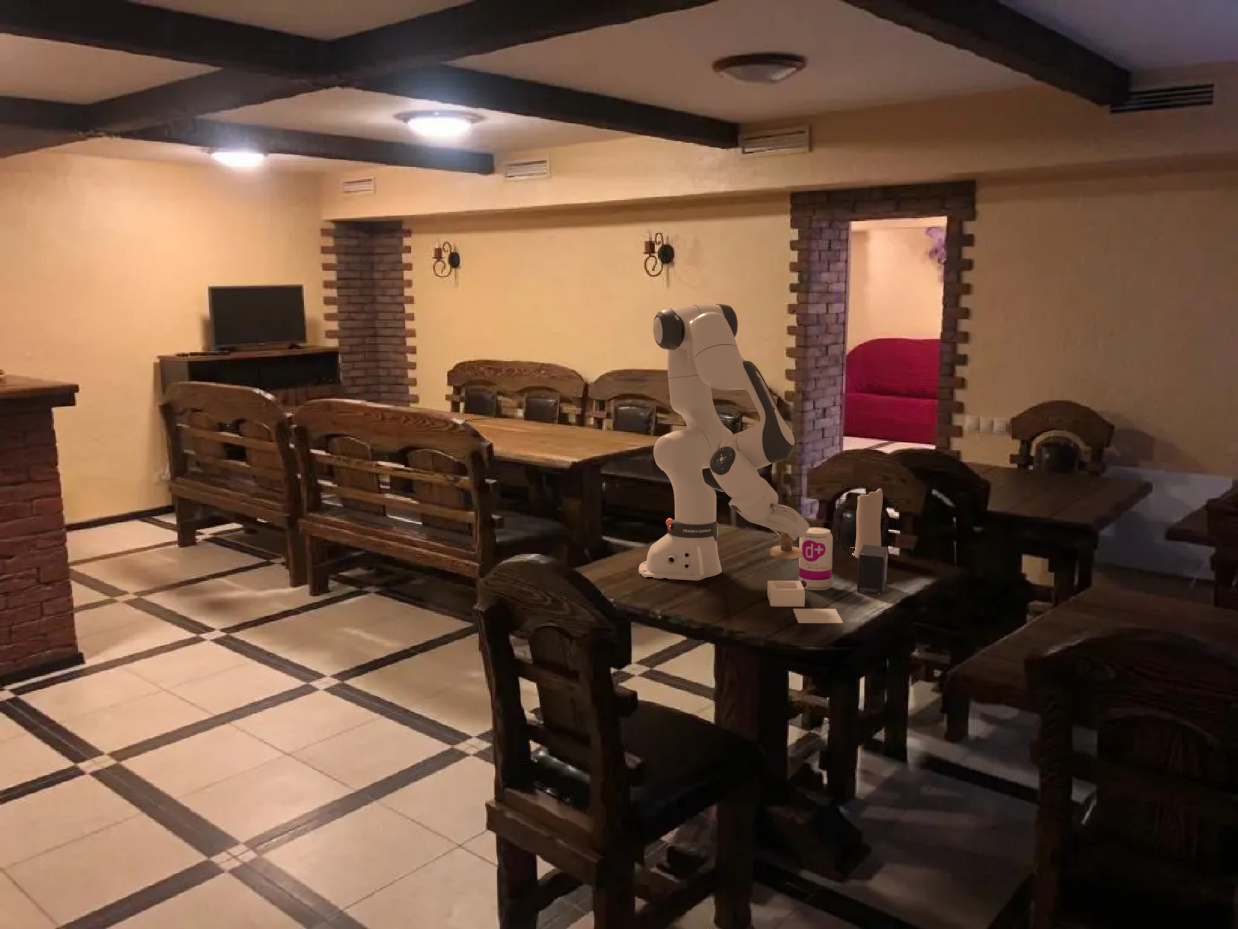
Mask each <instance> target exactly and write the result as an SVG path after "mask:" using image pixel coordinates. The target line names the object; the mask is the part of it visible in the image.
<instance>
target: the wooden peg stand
mask: <svg viewBox="0 0 1238 929" xmlns="http://www.w3.org/2000/svg"><path fill="white" fill-rule="evenodd" d="M787 535H788V534H787V533H784V532H781V536H780V545H775V546H772V547H771V548H770V550H769V551H770V552H769V554H770V556H771V557H773V558H777V559H783V560H793V559H794V560H795V559H799V558H800V557H802V549H800V548H799V547H797V546H793V543H794V542H793V541H794V540H791V539H789V537H788V536H787Z"/></svg>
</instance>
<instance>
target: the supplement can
mask: <svg viewBox="0 0 1238 929" xmlns="http://www.w3.org/2000/svg"><path fill="white" fill-rule="evenodd" d="M833 536H834V535H832V533H831V529H828V528H826V527H825V528H824V527H817V526H814V527H812V526H811V527H810V526H809V529H808V531H807V532H806V534H805V535H804V536H803V537H802V538H800V537H799V545H798V546H799V547H798V548H800V549H802V557H800V558H798V581H801V583H802V585H803V587H804V589H806V590H805V591H828V590H829V589H830V588H832V583H833V582H832V581H833V551H834V550H833V548H834V546H833V545H834V544H833V542H834V541H833V540H834V537H833ZM827 589H828V590H827Z"/></svg>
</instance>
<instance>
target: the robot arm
mask: <svg viewBox="0 0 1238 929" xmlns="http://www.w3.org/2000/svg"><path fill="white" fill-rule="evenodd" d="M738 322H739V321H738V318H737V314H736V311H735V310H734V308H733V307H732V306H731V305H728V304H725V303H724V304H721V303H717V304H707V303H705V304H693V305H687V306H680V307H675V308H672V307H670V308H669V307H668V308H665V309H663V310H659V311H658V312H657V314H656V315H655V317H654V320H653V326H652V332H653V338H654V340H655V343H656V344H657V345H658V346H659V347H660V348H661V349H663V350H667V351H668V352H667V380H668V391H669V401H670V402H669V403H670V406H671V409H672V410H673V411H674V412H675V413H677V414H679V415H680V416H681V417H682V419H683V421H684V423H685V425H686V429H682V430H674V431H671V432H668V433H666V434H663V435H662V436H660V437H659V438H657V440H656V441H655V444H654V445H653V458H654V461H655V464H656V465H657V467H658V468H659V469H660V470H661V471H663V472H664V474H666V476H667V477H668V479H669V481H670V483H671V486H672V490H673V495H674V496H673V498H674V519H672V518H671V517H669V518H667V519H666V521H665V525H666V526H667V527H666V528H667V533H666V534H665V535H664V536H661V538H659V539H658V540H657V541H655V542H654V543H653V544H652V545H651V546H650V547H649V550H648V551H647V556H646V560H645V561H642V562H641V563H640V564H639V567H638V574H639V575H640V574H641V575H642V577H643V578H647V577H653V578H652V579H663V578H667V580H668V579H669V580H683V581H684V580H685V581H701V580H704V579H705V578H710V577H715V576H717V575H720V574H721V573H722V571H723V570H722V566H721V562H720V556H719V552H718V550H719V548H718V540H719V539H718V538H719V522H718V519H717V494H716V491H715V489H714V488H713V487H712V486H711V485H709V484H707V483H706V482H705V478H704V475H703V469H710V472H711V474H712V476H713V478H714V480H715V481H716V482H717V484H718V485H719V487H720V488H721V489H722V490H723V492H725V493H726V495H727V496H729V497H730V498H731V499H730V500H729V502H728V505H729V507H730V508H731V509H732V510H735V511H736V512H737V513H738V514H739V515H740V516H741V517H742V518H743V519H745V520H746V521H747V522H749V523H753V524H756V525H759V526H762V527H766V528H769V529H770V530H772V531H773V532H774V533H776V535H777V536H779V537H781V532H784V533H787V534H788V535H787V536H788V537H789V539H791V540H793V541H796V540H797V539H798V538H799V539H800V538H802V537H803V536H804V535H805V534H806V532H807V531H808V529H809V528H810V524H809V522H808V521H807V520H806V519H805V518H803V516H802V515H801V514H800V513H799V512H798V511H797V510H795V509H794V508H792V507H790V506H788V505H784V504H781V503H779V495H778V493H777V491H776V490H775V489H774V488H773V487H772V486H771V484H770V483H768V481H767V480H766V479H765V478H763V477H761V476H760V474H759V471H758V470H759V469H762V468H764V467H767V466H769V465H771V464H776V463H779V462H783V461H786V460H788V459H789V458H790V457H791V455H792V454H793V451H794V449H795V446H796V440H795V436H794V434H793V431H792V430H791V428H790V426H789V424H788V423H787V422H786V420H785V419H784V418H785V417H783V415H782V413H781V411H780V409H779V407H778V405H777V403H776V400H775V398H774V396H773V395H772V392H771V389H770V388H769V386H768V384H767V383H766V380H765V378H764V376H763V375H762V373H761V371H760V370H759V369H758V367H757V366H756V365H755V364H754V363H753V361H750V360H745V359H744V358H743V357H742V355H741V352H740V350H739V347H738V343H737V341H736V337H737V333H738V326H739V325H738V324H739V323H738ZM712 389H715V390H718V391H719V390H720V391H735V390H736V391H737V390H738V391H739V390H742V391H744V390H745V391H746V392H747V393H748V394H749V396H750V398H751V401H752V402H753V404H754V407H755V409H756V411H757V413H758V415H759V418H760V421H759V422H758V423H757V424H756V425H754V426H751V427H750V428H747V429H745V430H742V431H740V432H737V433H734V434H733V432H732V431H731V430H730V429H729V428H727V427H726V426H725V425H724V423H723V422H722V420H721V419H720V416H719V415H718V412H717V410H716V407H715V405H714V401H713V400H714V399H713V392H712ZM641 575H640V576H641Z"/></svg>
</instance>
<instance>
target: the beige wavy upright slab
mask: <svg viewBox="0 0 1238 929" xmlns="http://www.w3.org/2000/svg"><path fill="white" fill-rule="evenodd" d="M883 495H884V494H883V489H882V488H881V487H880V488H877V489H876V491H870V492H868V494H863V493H861V494H860V495H858V496H857V508H856V517H855V518H856V520H855V521H856V522H855V523H856V533H855V534H856V535H855V537H856V538H855V547H851V548H855V551H854V553H852V555H853V556H852V555H851V556H852V557H854V556H855V557H854V558H856V559H859V553H860V551H861V549H862V547H863V545H872V546H881V547H882V536H881V533H882V532H881V521H882V520H881V519H882V518H881V516H882V510H883V500H884V497H883Z"/></svg>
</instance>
